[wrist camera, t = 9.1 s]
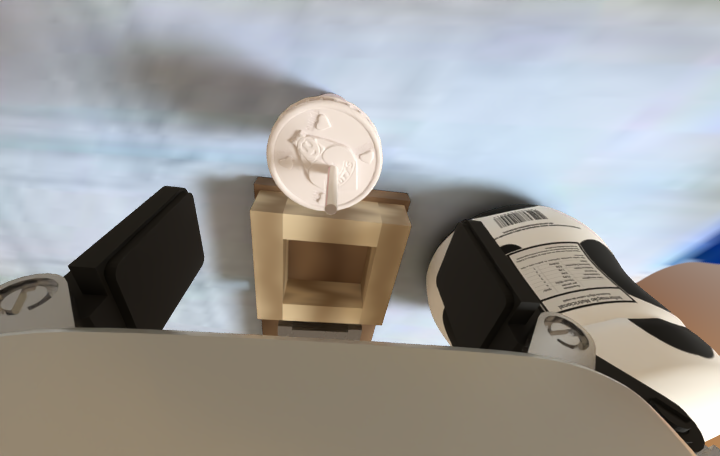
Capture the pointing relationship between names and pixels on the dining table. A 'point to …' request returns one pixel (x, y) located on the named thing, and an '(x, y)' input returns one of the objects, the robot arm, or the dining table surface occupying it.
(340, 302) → the wooden tray with button
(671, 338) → the milk container
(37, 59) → the dining table surface
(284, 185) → the smoothie
